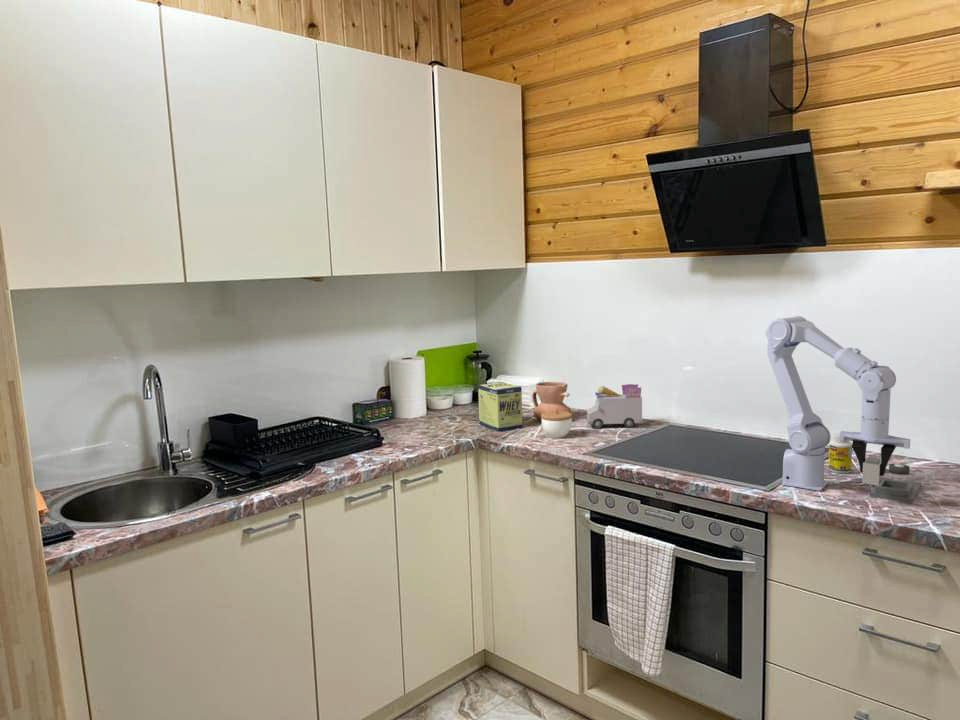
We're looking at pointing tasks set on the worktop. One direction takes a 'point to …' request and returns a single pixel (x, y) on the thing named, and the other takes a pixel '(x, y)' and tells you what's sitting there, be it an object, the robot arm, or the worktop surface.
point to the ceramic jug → (550, 398)
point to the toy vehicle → (616, 407)
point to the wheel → (899, 469)
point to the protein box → (500, 406)
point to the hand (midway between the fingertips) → (872, 473)
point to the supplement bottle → (840, 455)
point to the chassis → (896, 490)
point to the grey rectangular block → (871, 471)
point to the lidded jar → (556, 423)
